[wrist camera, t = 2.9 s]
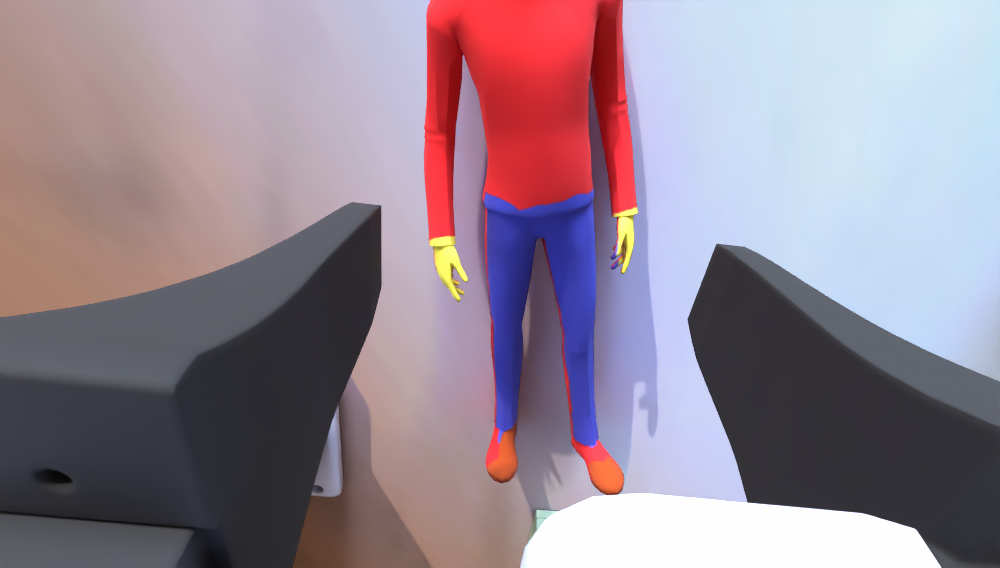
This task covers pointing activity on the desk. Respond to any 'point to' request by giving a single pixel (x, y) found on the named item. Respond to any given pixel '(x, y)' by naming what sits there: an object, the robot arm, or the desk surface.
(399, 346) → the desk surface
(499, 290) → the character figure
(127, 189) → the desk surface
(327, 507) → the desk surface
